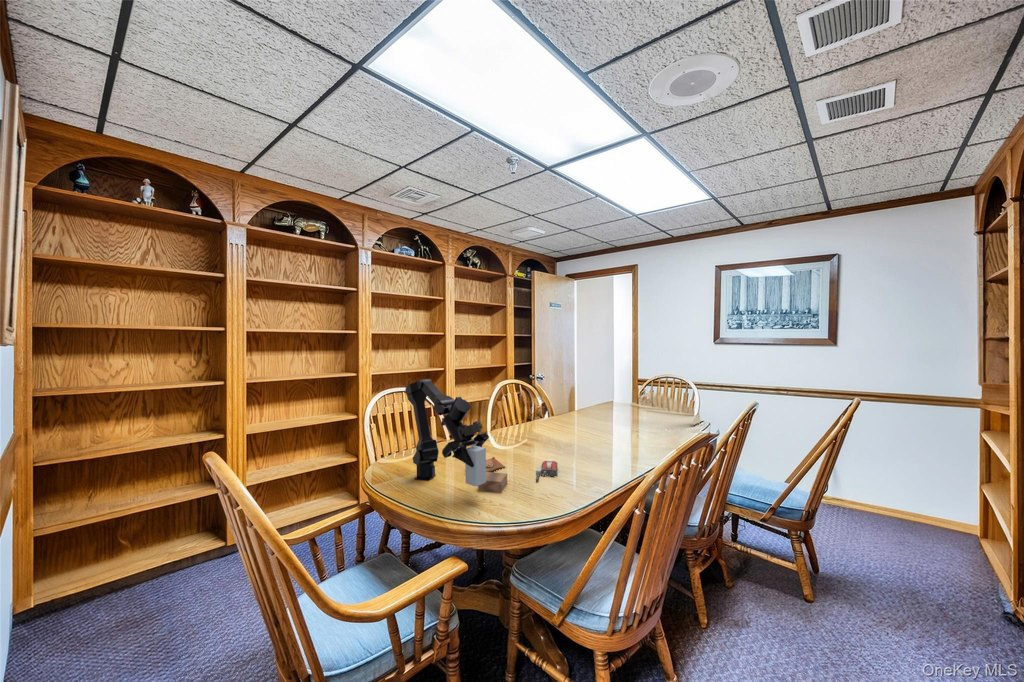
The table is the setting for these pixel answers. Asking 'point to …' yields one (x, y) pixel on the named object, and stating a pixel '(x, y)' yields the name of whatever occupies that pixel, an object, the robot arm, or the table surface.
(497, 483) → the walnut base
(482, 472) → the slate block
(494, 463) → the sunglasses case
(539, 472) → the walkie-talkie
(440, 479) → the table surface
